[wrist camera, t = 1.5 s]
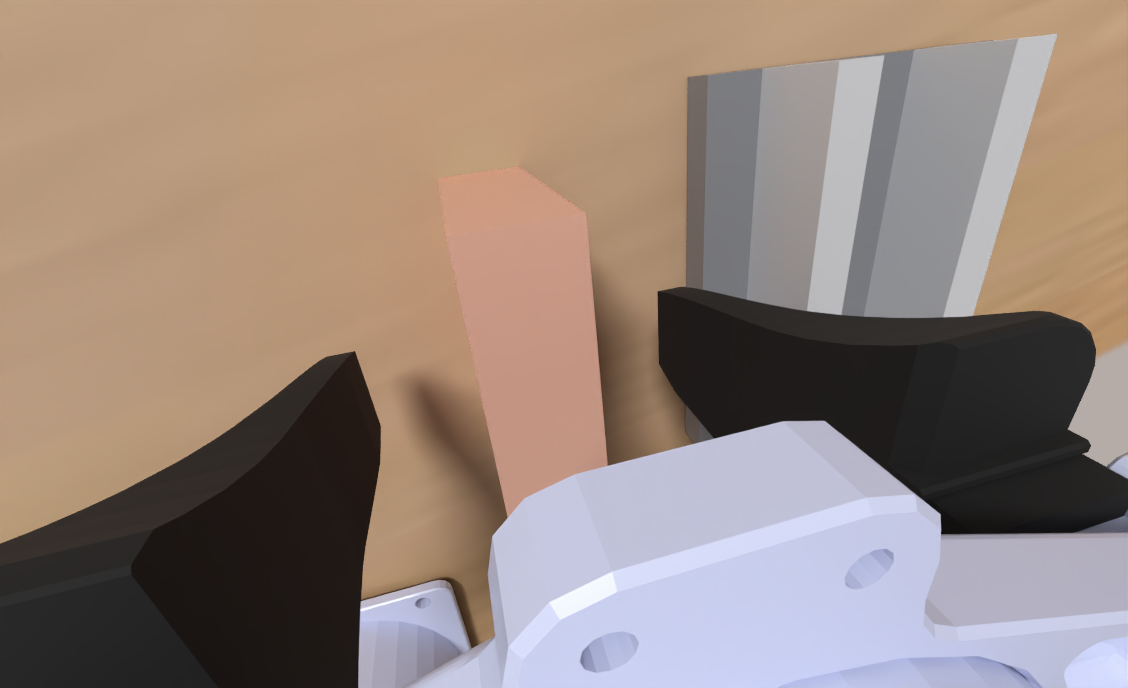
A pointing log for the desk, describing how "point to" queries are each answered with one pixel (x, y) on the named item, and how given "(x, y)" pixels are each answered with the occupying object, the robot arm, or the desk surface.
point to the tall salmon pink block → (528, 325)
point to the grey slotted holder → (858, 178)
